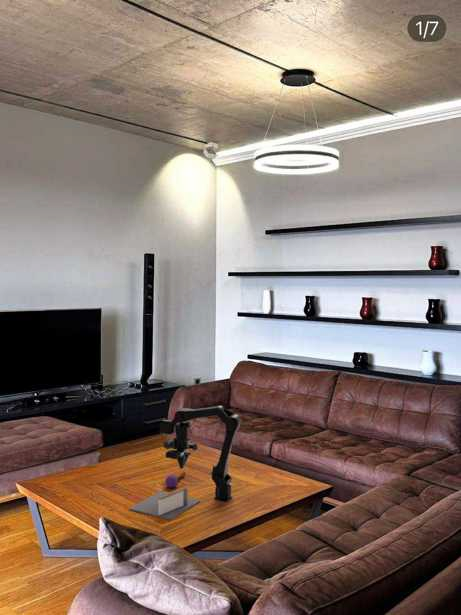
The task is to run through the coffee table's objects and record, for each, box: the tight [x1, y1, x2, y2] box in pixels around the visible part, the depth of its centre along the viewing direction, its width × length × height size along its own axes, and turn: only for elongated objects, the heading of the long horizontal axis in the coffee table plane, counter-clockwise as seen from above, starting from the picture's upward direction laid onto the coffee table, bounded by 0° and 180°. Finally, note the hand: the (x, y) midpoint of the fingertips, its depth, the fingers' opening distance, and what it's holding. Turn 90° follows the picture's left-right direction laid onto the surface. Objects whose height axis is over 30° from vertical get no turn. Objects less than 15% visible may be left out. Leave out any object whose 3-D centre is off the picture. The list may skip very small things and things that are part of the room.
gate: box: [158, 488, 184, 515], centre depth 258 cm, size 14×2×7 cm, turn 141°
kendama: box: [164, 469, 187, 489], centre depth 296 cm, size 6×6×20 cm
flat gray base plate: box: [128, 487, 201, 521], centre depth 265 cm, size 22×24×8 cm
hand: (181, 468), depth 280 cm, fingers closed
